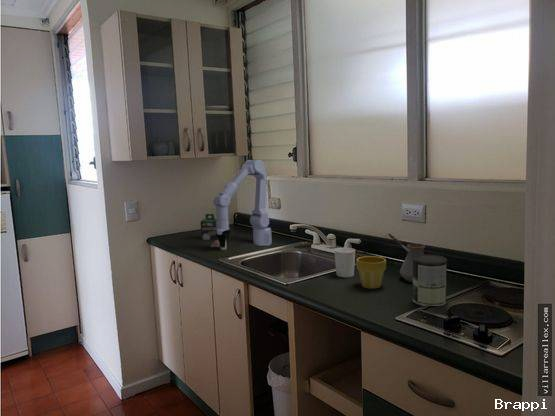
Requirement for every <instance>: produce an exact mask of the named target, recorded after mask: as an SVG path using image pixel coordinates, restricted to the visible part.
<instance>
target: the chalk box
mask: <svg viewBox="0 0 555 416" xmlns="http://www.w3.org/2000/svg"><path fill="white" fill-rule="evenodd" d="M204 215H205V218H203V219H202V220H201V221H199V223H200V233H201V240H202V241H204V240H205V241H207V240H209V241H210V240H214V241H216V240H218V238H217V236H216V233H217V230H215V228H217V217H215V214H214V213H206V214H204ZM209 216H210V217H209Z"/></svg>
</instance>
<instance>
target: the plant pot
mask: <svg viewBox="0 0 555 416" xmlns="http://www.w3.org/2000/svg"><path fill="white" fill-rule="evenodd" d="M355 259H356V260H355V264H356V269H357V271H358V274H359V278H360V283H361V286H362V287H363V288H365V289H371V290H372V289H378V288H381V285H382V283H383V282H382V281H383V276H384V273H385V270H386V269H387V259H386V258H384V257H380V256H374V255H373V256H372V255H368V256H367V255H366V256H365V255H364V256H360V257H357V258H355Z"/></svg>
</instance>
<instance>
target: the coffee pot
mask: <svg viewBox="0 0 555 416" xmlns="http://www.w3.org/2000/svg"><path fill="white" fill-rule="evenodd" d="M388 236H389V237H388ZM385 237H386V238H387V239H389V238H390V239H392V240H393V241H394V242H395V243H396V244H397V245H399V246H400V247H402V248H403V249H404V250H405V251H406V252H407V254H406V257H405V259H404V261H403V262H402V265H401V267H400V270H399V274H400V276H401V277H402V278H403V279H404V280H405V281H407V282H409V283H413V257H414V256H417V255H425V252H424V249H425V248H426V245H425V244H421V243H411V244H410V243H409V244H407V245H406V246H405V245H403V243H402V242H401V241H400V240H399V239H398V238H396V237H395V236H394V235H392V234H391V233H388V234H387V235H386V236H385Z"/></svg>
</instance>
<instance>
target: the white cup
mask: <svg viewBox="0 0 555 416" xmlns="http://www.w3.org/2000/svg"><path fill="white" fill-rule="evenodd" d="M334 259H335V261H334V262H335V263H334V264H335V271H336V276H337V277H340V278H352V277H354V275H355V264H356V260H355V259H356V249H355V248H352V247H339V248H335V249H334Z"/></svg>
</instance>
